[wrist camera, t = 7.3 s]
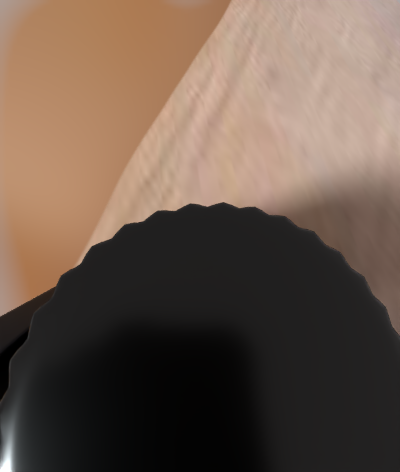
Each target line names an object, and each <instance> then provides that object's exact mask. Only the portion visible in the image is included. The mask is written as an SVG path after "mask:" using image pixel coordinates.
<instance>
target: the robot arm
mask: <svg viewBox="0 0 400 472" xmlns="http://www.w3.org/2000/svg"><path fill="white" fill-rule="evenodd" d="M55 288H56V287H54V288H52V289H50V290H48V291H47V292H44V293H43V294H41V295H39V296H37V297H35V298H33V299H32V300H30V301H28V302H26V303H24V304H23V305H21V306H19V307H17V308H15V309H13V310H12V311H10V312H8V313H6V314H4V315H2V316H1V317H0V401H1V399H2V398H3V396H4V394H5V393H6V391H7V389H8V387H9V363H10V359H11V358H12V357H13V355H14V354H15V352H16V351H17V350H18V349H19V348H20V347H21V346H22V345H23V344H24V342H25V341H26V340H27V338H28V333H29V327H30V323H31V319H32V316H33V313H34V312H35V311H36V310H37V309H38V308H40V307H41V306H42V305H43V304H45V303H46V302H47V301H48V300H49V299H51V298H52V296H53V293H54V291H55Z"/></svg>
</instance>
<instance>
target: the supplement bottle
mask: <svg viewBox="0 0 400 472" xmlns="http://www.w3.org/2000/svg"><path fill="white" fill-rule="evenodd" d="M0 472H400V336H399V334H398V333H397V332H396V331H395V330H394V328H393V327H392V325H391V322H390V318H389V315H388V312H387V309H386V307H385V306H384V305H383V304H382V303H381V302H380V301H379V300H378V299H376V297H375V296H374V295H373V294H372V292H371V290H370V288H369V286H368V284H367V282H366V280H365V278H364V277H363V276H362V275H361V274H359V273H358V272H357V271H355V270H354V269H352V268H350V266H349V265H348V263H347V261H346V260H345V258H344V257H343V255H342V254H341V253H340V252H339V251H337V250H335V249H334V248H331V247H328V246H327V245H325V244H324V243H323V241H322V240H321V239H320V238H319V237H318V236H317V235H316V233H315V232H313V231H311V230H308V229H302V228H299V227H298V226H296V225H295V224H294V223H293V222H292V221H291V220H289V219H288V218H287V217H285V216H278V215H268V214H266V213H265V212H263V211H262V210H260V209H258V208H256V207H245V208H237V207H235V206H233V205H230V204H227V203H224V202H223V203H218V204H215V205H212V206H209V207H206V206H202V205H198V204H188V205H186V206H184V207H182V208H180V209H178V210H177V211H167V210H163V211H157V212H155V213H154V214H152V215H151V216H150V217H148V218H147V219H146V220H145V221H143V222H139V223H130V224H126V225H124V226H123V227H122V228H121V229H120V230H119V231H118V232H117V233H116V234H115V235H114V237H113V238H112V239H110V240H107V241H104V242H101V243H98V244H96V245H94V246H92V247H91V248H90V250H89V251H88V252H87V254H86V256H85V257H84V259H83V261H82V263H81V264H80V265H78V266H77V267H75V268H73V269H71V270H69V271H67V272H66V273H64V274H63V275H62V276H61V277H60V279H59V281H58V283H57V286H56V288H55V291H54V293H53V296H52V298H51V299H49V300H48V301H47V302H46V303H45V304H43V305H42V306H41V307H40V308H38V309H37V310H36V311H35V312H34V313H33V316H32V319H31V323H30V327H29V333H28V338H27V340H26V341H25V342H24V344H23V345H22V346H21V347H20V348H19V349H18V350H17V351H16V352H15V354H14V355H13V357H12V358H11V359H10V363H9V387H8V389H7V391H6V393H5V394H4V396H3V398H2V399H1V401H0Z"/></svg>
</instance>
